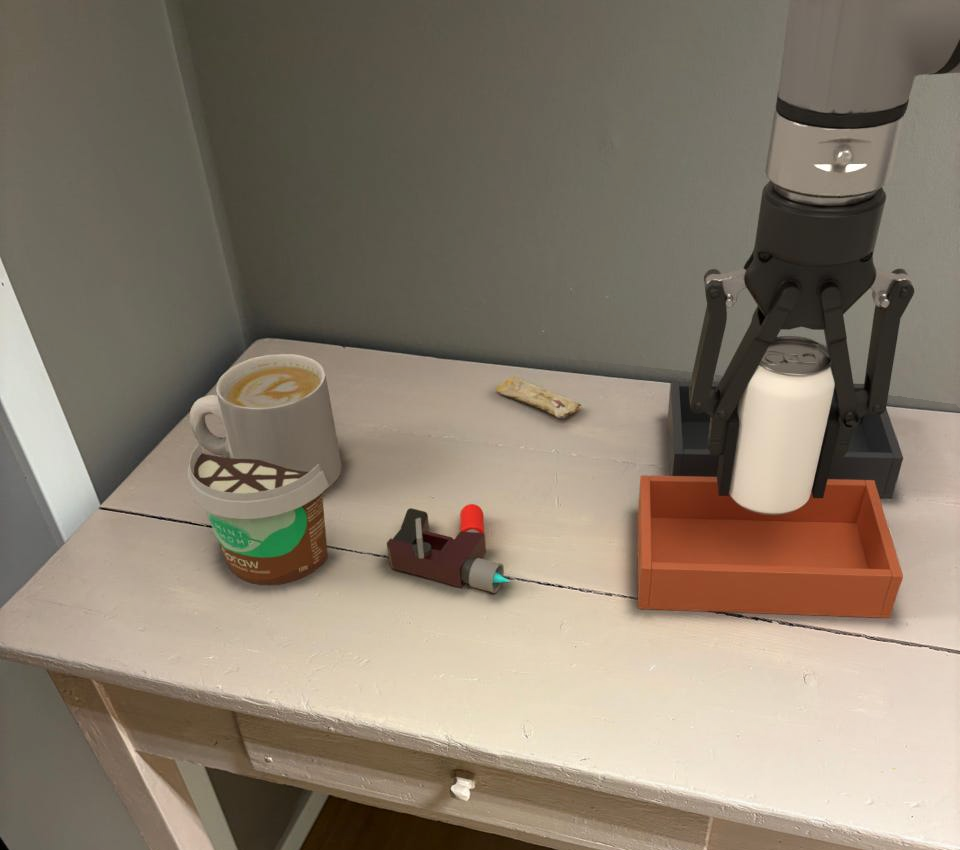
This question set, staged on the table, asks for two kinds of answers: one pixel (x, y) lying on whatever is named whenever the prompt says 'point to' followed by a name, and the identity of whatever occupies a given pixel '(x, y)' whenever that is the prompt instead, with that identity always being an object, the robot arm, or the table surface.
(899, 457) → the grey bin
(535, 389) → the snack bar
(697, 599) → the terracotta bin
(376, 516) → the table surface
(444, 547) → the toy gun
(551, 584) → the table surface
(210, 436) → the coffee mug
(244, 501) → the food container
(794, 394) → the can
